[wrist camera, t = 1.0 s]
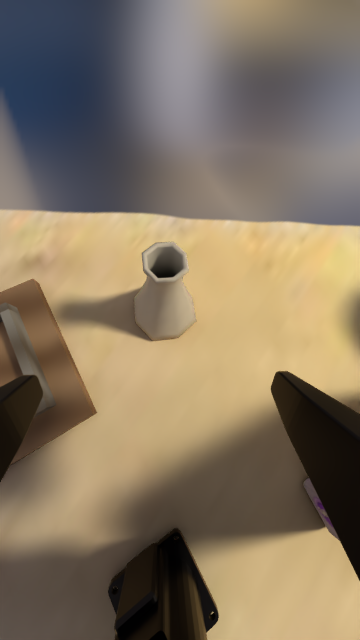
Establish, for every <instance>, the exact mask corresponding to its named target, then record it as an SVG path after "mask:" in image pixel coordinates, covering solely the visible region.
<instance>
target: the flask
mask: <svg viewBox="0 0 360 640" xmlns="http://www.w3.org/2000/svg"><path fill="white" fill-rule="evenodd" d="M142 261H143V271H144V273H145V274H146V275H147V279H146V282H145V283H144V285H143V286H142V288H141V290H140V291H139V292H138V294H137V295H136V296H135V298H134V310H135V323H136V324H137V325H138V326H139V327H140V328H141V329H142V330H143V331H144V332H145V333H146V334H147V335H148V336H149V337H150V339H151V340H152V341H156V340H165V339H173V338H179V337H180V336H181V335H182V334H183V333H184V332H185V331H186V330H187V329H188V328H190V327H191V326H192V325H193V324H194V323H195V322H196V315H195V309H194V303H193V298H192V296H191V294H190V293H189V292H188V290H187V288H186V287H185V285H184V283H183V276H184V275H185V274H187V273H188V271H189V267H188V261H187V255H186V253H185V252H184V251H183V250H182V249H181V248H180V247H179V246H178V245H177V244H176V243H174V242H161V243H155V244H153V245H152V246H151V247H149V248H148V249H147V250H145V251H144V252H143V253H142Z"/></svg>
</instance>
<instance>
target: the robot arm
mask: <svg viewBox="0 0 360 640" xmlns="http://www.w3.org/2000/svg"><path fill="white" fill-rule="evenodd" d="M271 392H272V395H273V398H274V401H275V403H276V406H277V409H278V411H279V414H280V416H281V419H282V422H283V424H284V427H285V429H286V432H287V434H288V436H289V438H290V440H291V442H292V444H293V446H294V448H295V450H296V452H297V454H298V456H299V458H300V460H301V462H302V464H303V466H304V469H305V471H306V473H307V475H308V477H309V479H310V481H311V483H312V485H313V487H314V489H315V491H316V493H317V495H318V497H319V499H320V501H321V503H322V505H323V507H324V509H325V511H326V513H327V515H328V517H329V519H330V521H331V524H332V526H333V528H334V530H335V532H336V534H337V536H338V538H339V540H340V542H341V544H342V546H343V548H344V550H345V552H346V554H347V556H348V558H349V560H350V562H351V564H352V566H353V568H354V570H355V572H356V574H357V576H358V578H359V581H360V414H359V413H357V412H355V411H354V410H352V409H350V408H349V407H347V406H345V405H344V404H342V403H340V402H339V401H337V400H335V399H334V398H332V397H330V396H329V395H327V394H325V393H323V392H322V391H320V390H318V389H317V388H315V387H313V386H312V385H310V384H308V383H307V382H305V381H303V380H302V379H300V378H298V377H297V376H295V375H293V374H291V373H290V372H288V371H278V372H276V374H275V376H274V379H273V382H272V385H271ZM42 397H43V389H42V387H41V384H40V381H39V379H38V377H37V376H36V375H22V376H20V377H18V378H16V379H14V380H12V381H10V382H9V383H7V384H5V385H3V386H1V387H0V482H1V480H2V478H3V477H4V475H5V473H6V471H7V469H8V468H9V466H10V464H11V462H12V460H13V459H14V457H15V455H16V453H17V451H18V450H19V448H20V446H21V444H22V442H23V440H24V438H25V436H26V434H27V432H28V429H29V427H30V425H31V423H32V420H33V418H34V416H35V413H36V411H37V409H38V407H39V404H40V402H41V400H42ZM175 536H178V537H179V538H178V539H177V540H175V539H174V537H175ZM113 586H117V587H118V589H114V588H113ZM108 593H109V597H110V599H111V602H112V605H113V607H114V610H115V612H116V615H117V616H116V621H115V626H114V629H115V632H116V635H115V640H207V635H206V633H207V632H208V631H209V630H210V629H211V628H212V627H213V626H214V625H215V624H216V623H217V621H218V618H219V615H218V610H217V606H216V604H215V602H214V599H213V597H212V595H211V593H210V591H209V589H208V587H207V585H206V583H205V581H204V579H203V577H202V574H201V572H200V570H199V568H198V566H197V564H196V562H195V560H194V558H193V556H192V554H191V552H190V550H189V547H188V545H187V543H186V541H185V539H184V537H183V535H182V533H181V531H180V530H179V529H173V530H172V531H171V532H170V533H168V534H167V535H166V536H165V537H163V538H162V539H161V540H160V541H158V542H157V543H153V544H151V545H150V546H149V547H148V548H146V549H145V550H144V551H143V552H141V553H140V554H139V555H138V556H136V557H135V558H134V559H133V560H131V561H130V562H129V563H128V564H127V567H126V568H125V569H124V570H123V571H121V572H120V573H119V574H118V575H116V576H115V577H114V578H113V579H112V580H111V582H110V586H109V591H108ZM212 611H213V612H214V613H213V614H212V615H211V614H210V612H212Z"/></svg>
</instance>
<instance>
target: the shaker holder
mask: <svg viewBox="0 0 360 640" xmlns="http://www.w3.org/2000/svg"><path fill="white" fill-rule="evenodd" d="M22 375H36V376H37V377H38V379H39V381H40V384H41V387H42V389H43V397H42V400H41V402H40V404H39V407H38V409H37V411H36V413H35V416H34V418H33V420H32V423H31V425H30V427H29V429H28V432H27V434H26V436H25V438H24V440H23V442H22V444H21V446H20V448H19V450H18V451H17V453H16V455H15V457H14V459H13V460H12V462H11V464H10V465H12V464H13V463H15V462H17V461H18V460H20V459H22V458H23V457H25V456H27V455H28V454H30V453H31V452H33V451H35V450H36V449H38V448H40V447H41V446H43V445H45V444H46V443H48V442H50V441H51V440H53V439H55V438H56V437H58V436H60V435H61V434H63V433H65V432H66V431H68V430H70V429H71V428H73V427H75V426H76V425H78V424H79V423H81V422H83V421H84V420H86V419H88V418H89V417H91V416H93V415H94V414H96V413H97V412H96V410H95V407H94V405H93V403H92V401H91V399H90V396H89V394H88V392H87V390H86V387H85V385H84V383H83V381H82V379H81V376H80V374H79V372H78V370H77V367H76V365H75V363H74V361H73V359H72V356H71V354H70V352H69V350H68V347H67V345H66V343H65V341H64V338H63V336H62V334H61V332H60V330H59V327H58V325H57V323H56V321H55V318H54V316H53V314H52V312H51V310H50V307H49V305H48V303H47V301H46V298H45V296H44V294H43V292H42V290H41V287H40V285H39V283H38V282H37V281H35V280H34V279H31V280H29V281H26V282H24V283H21V284H19V285H17V286H14V287H12V288H10V289H7V290H5V291H2V292H0V387H1V386H3V385H5V384H7V383H9V382H10V381H12V380H14V379H16V378H18V377H20V376H22Z"/></svg>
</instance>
